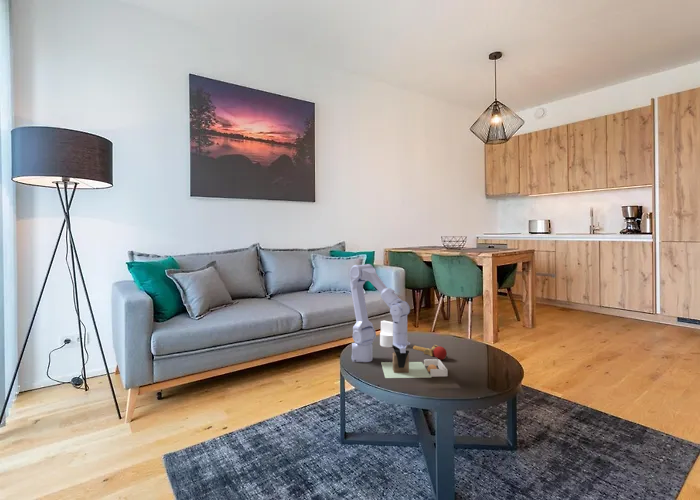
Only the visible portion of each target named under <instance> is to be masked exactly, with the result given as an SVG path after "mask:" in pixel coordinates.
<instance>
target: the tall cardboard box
mask: <svg viewBox="0 0 700 500" xmlns="http://www.w3.org/2000/svg"><path fill="white" fill-rule="evenodd" d="M392 362H393V371H394V373H409V362H410V355H409V354H408V355H407V358H406V361H405V366H404V368H399V366H398V361H397V356H396V353H395V351H394V352H392Z"/></svg>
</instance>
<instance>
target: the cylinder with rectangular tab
mask: <svg viewBox="0 0 700 500" xmlns="http://www.w3.org/2000/svg"><path fill="white" fill-rule="evenodd" d="M379 345H380V346H381V347H382V348H393V347H392V345H393V321H388V320H380V332H379Z"/></svg>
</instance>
